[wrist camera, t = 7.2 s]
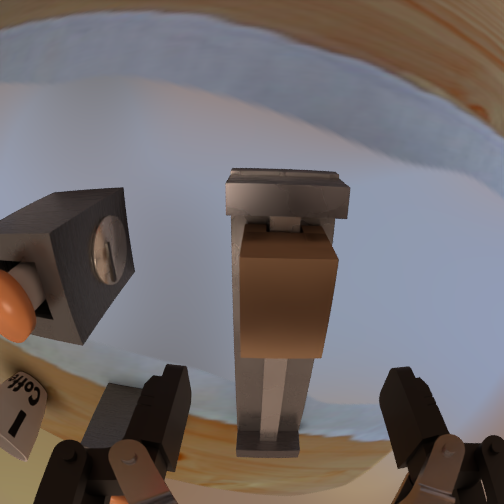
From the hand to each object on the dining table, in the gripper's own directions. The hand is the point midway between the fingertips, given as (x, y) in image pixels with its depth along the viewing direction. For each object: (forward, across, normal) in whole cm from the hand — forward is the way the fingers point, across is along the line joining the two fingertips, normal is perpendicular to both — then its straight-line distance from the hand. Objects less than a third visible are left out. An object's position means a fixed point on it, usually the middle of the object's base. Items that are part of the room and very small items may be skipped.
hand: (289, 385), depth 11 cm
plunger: (+4, +13, -2) cm, 14 cm away
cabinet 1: (+10, +13, -2) cm, 16 cm away
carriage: (+9, 0, 0) cm, 9 cm away
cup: (+10, +30, +19) cm, 37 cm away
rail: (+10, 0, +6) cm, 12 cm away
